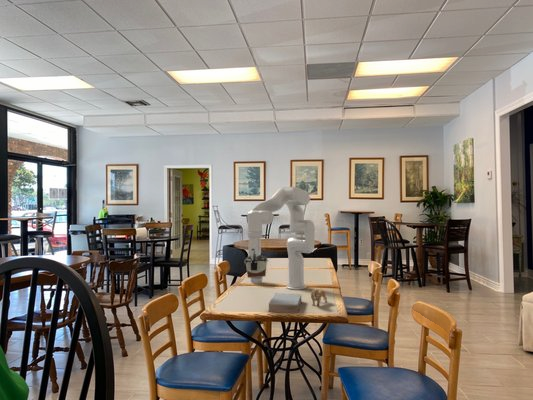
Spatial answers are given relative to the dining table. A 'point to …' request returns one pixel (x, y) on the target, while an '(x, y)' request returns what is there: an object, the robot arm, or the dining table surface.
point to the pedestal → (285, 303)
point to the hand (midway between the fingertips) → (255, 268)
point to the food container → (260, 267)
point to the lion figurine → (317, 296)
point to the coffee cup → (256, 280)
